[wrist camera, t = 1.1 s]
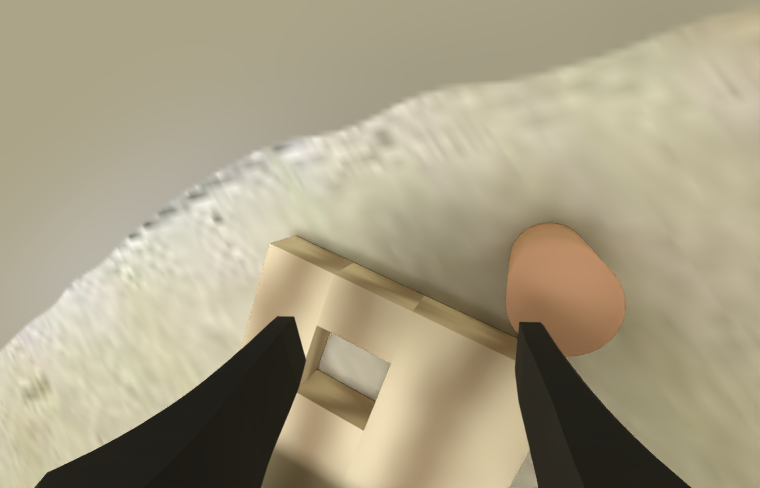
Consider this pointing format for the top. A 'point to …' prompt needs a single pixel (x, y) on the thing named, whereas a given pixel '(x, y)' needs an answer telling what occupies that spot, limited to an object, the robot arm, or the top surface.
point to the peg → (563, 289)
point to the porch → (388, 383)
